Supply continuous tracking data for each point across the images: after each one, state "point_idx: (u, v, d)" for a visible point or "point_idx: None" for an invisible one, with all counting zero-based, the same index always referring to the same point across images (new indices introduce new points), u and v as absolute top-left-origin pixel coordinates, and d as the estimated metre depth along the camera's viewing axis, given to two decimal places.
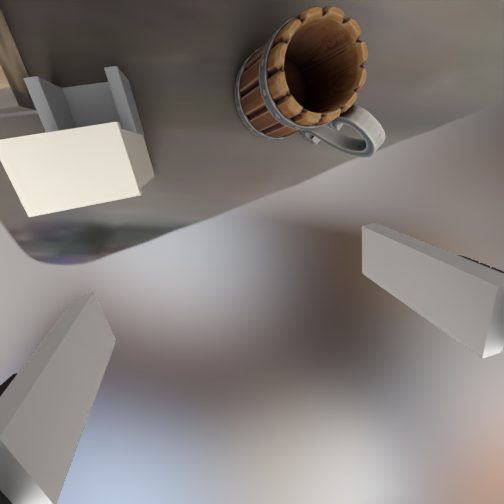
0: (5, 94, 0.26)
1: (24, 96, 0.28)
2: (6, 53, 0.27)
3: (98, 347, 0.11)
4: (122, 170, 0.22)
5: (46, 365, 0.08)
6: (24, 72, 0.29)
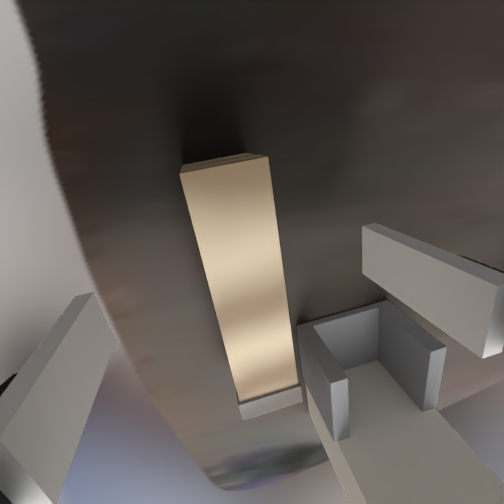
0: (291, 393, 0.18)
1: None
2: None
3: (98, 347, 0.11)
4: None
5: (46, 365, 0.08)
6: None
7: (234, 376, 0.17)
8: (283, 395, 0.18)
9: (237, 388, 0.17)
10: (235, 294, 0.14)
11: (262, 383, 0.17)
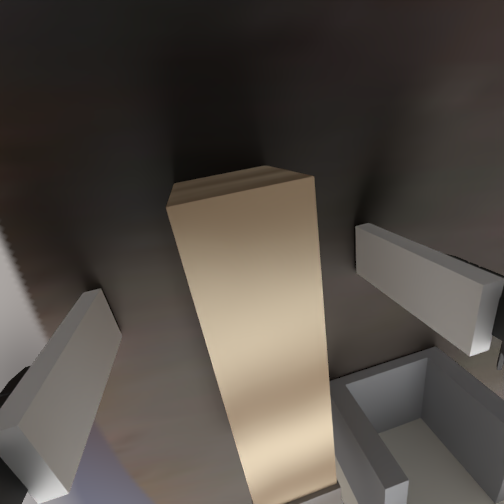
0: (327, 497, 0.13)
1: None
2: None
3: (106, 342, 0.11)
4: None
5: (58, 357, 0.08)
6: None
7: (250, 485, 0.12)
8: (317, 500, 0.13)
9: (254, 498, 0.12)
10: (254, 381, 0.10)
11: (288, 488, 0.12)
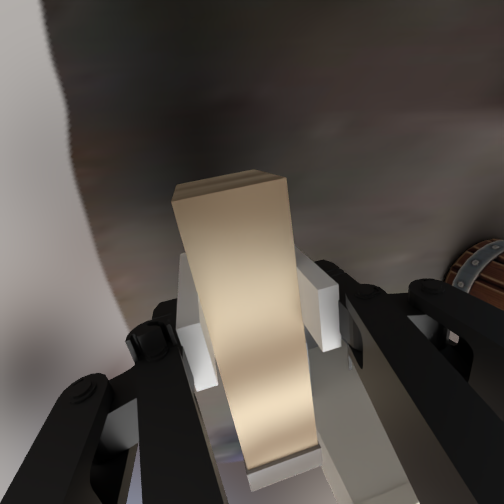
0: (310, 457, 0.15)
1: None
2: None
3: None
4: None
5: None
6: None
7: (241, 441, 0.14)
8: (300, 459, 0.15)
9: (245, 455, 0.14)
10: (242, 347, 0.12)
11: (275, 447, 0.14)
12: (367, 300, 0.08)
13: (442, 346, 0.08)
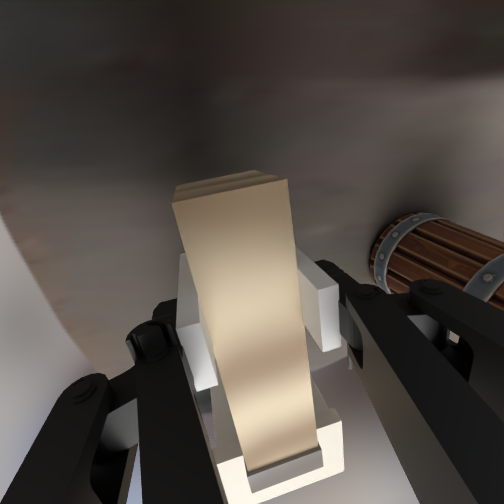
0: (310, 458, 0.15)
1: None
2: None
3: None
4: (333, 456, 0.19)
5: None
6: None
7: (241, 443, 0.13)
8: (301, 461, 0.15)
9: (245, 456, 0.14)
10: (243, 349, 0.12)
11: (275, 449, 0.14)
12: (367, 300, 0.08)
13: (442, 346, 0.08)
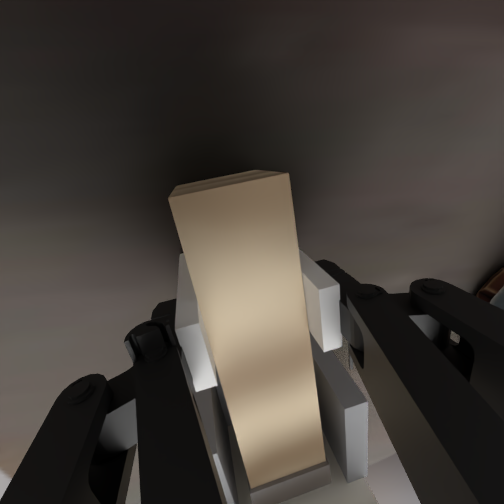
0: (317, 474, 0.14)
1: None
2: None
3: None
4: None
5: None
6: None
7: (244, 457, 0.13)
8: (307, 476, 0.14)
9: (248, 471, 0.13)
10: (244, 354, 0.11)
11: (280, 463, 0.13)
12: (368, 300, 0.08)
13: (443, 346, 0.08)
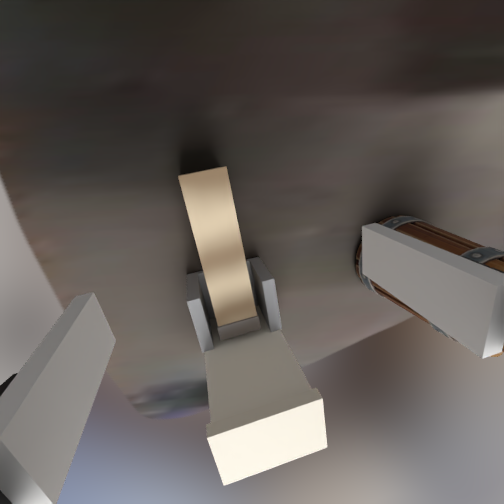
0: (252, 321, 0.27)
1: None
2: None
3: (98, 347, 0.11)
4: (316, 432, 0.21)
5: (46, 365, 0.08)
6: None
7: (213, 306, 0.26)
8: (247, 322, 0.27)
9: (216, 315, 0.26)
10: (211, 248, 0.24)
11: (232, 313, 0.27)
12: None
13: None
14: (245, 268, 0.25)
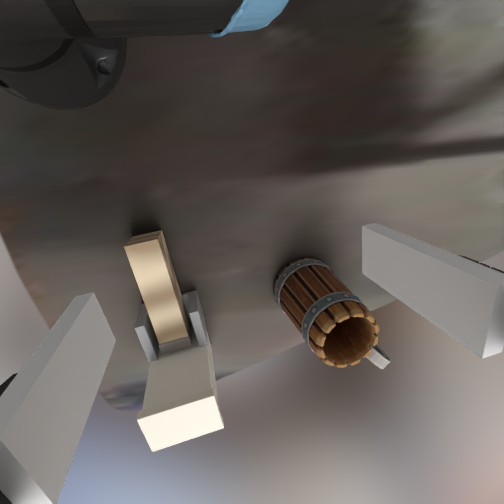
0: (184, 340, 0.38)
1: (189, 330, 0.40)
2: (182, 307, 0.39)
3: (98, 347, 0.11)
4: (214, 418, 0.32)
5: (46, 365, 0.08)
6: (184, 306, 0.41)
7: (155, 330, 0.37)
8: (180, 341, 0.38)
9: (157, 336, 0.37)
10: (150, 292, 0.35)
11: (169, 334, 0.37)
12: None
13: None
14: (176, 304, 0.36)
